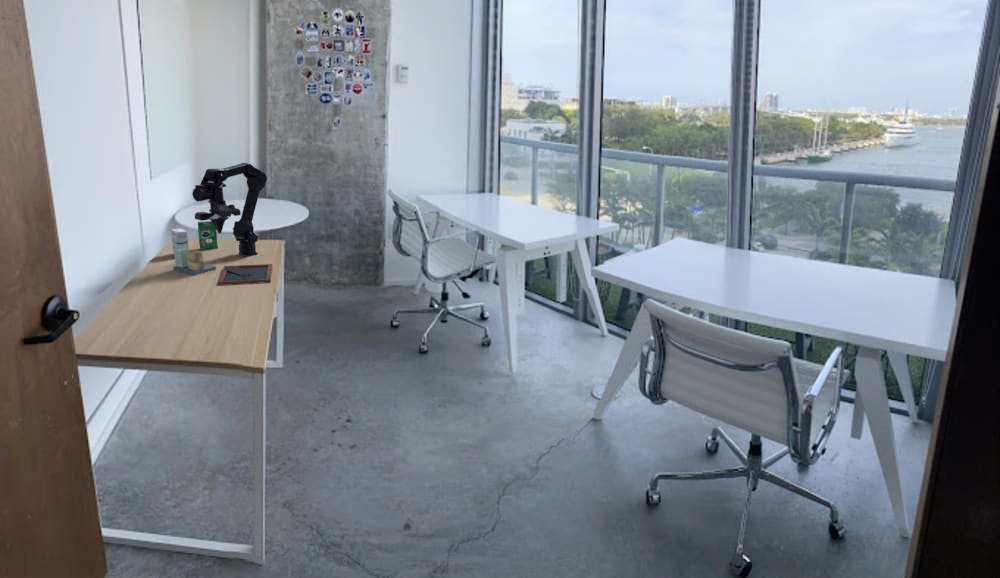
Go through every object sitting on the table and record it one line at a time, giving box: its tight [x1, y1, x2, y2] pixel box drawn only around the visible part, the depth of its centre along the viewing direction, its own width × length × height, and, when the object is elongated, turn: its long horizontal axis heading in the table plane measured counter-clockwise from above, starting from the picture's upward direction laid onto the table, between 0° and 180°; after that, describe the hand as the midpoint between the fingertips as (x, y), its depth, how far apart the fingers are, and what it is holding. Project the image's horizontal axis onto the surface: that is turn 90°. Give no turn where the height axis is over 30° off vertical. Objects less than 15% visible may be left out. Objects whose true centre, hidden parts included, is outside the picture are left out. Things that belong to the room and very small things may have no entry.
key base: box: [172, 263, 217, 276], centre depth 315 cm, size 10×14×2 cm
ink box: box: [170, 228, 190, 255], centre depth 337 cm, size 8×5×12 cm, turn 39°
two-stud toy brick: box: [173, 248, 191, 268], centre depth 314 cm, size 4×4×7 cm
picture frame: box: [218, 263, 273, 286], centre depth 309 cm, size 20×2×25 cm
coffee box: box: [197, 220, 219, 250], centre depth 350 cm, size 8×3×13 cm, turn 117°
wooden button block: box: [186, 250, 205, 270], centre depth 310 cm, size 4×4×7 cm
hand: (219, 233), depth 325 cm, fingers closed
